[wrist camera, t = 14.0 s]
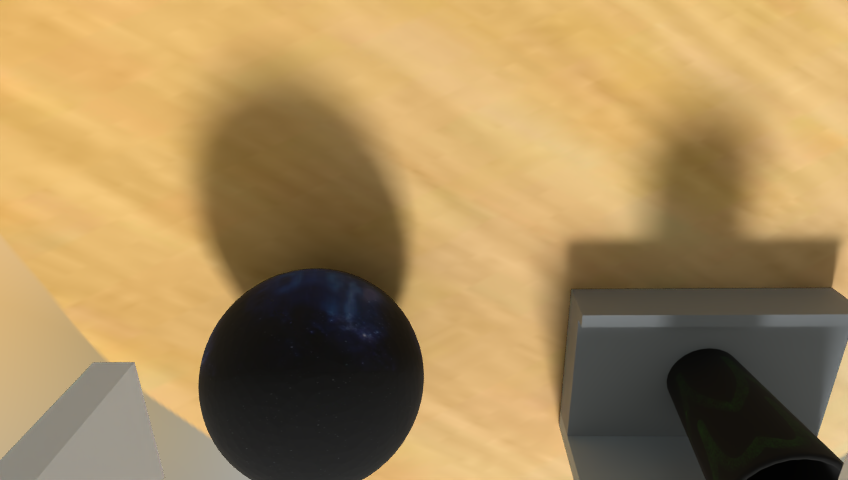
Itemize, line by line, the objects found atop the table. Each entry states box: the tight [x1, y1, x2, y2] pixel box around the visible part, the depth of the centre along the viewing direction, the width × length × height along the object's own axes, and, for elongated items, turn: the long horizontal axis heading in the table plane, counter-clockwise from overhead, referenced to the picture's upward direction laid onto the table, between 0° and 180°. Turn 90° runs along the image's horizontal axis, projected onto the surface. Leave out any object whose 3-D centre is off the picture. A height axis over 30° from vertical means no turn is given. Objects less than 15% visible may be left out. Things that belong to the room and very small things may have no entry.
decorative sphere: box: [199, 269, 424, 480], centre depth 40 cm, size 15×15×15 cm
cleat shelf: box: [559, 288, 848, 480], centre depth 41 cm, size 14×20×14 cm
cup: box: [667, 348, 844, 480], centre depth 39 cm, size 8×8×12 cm
